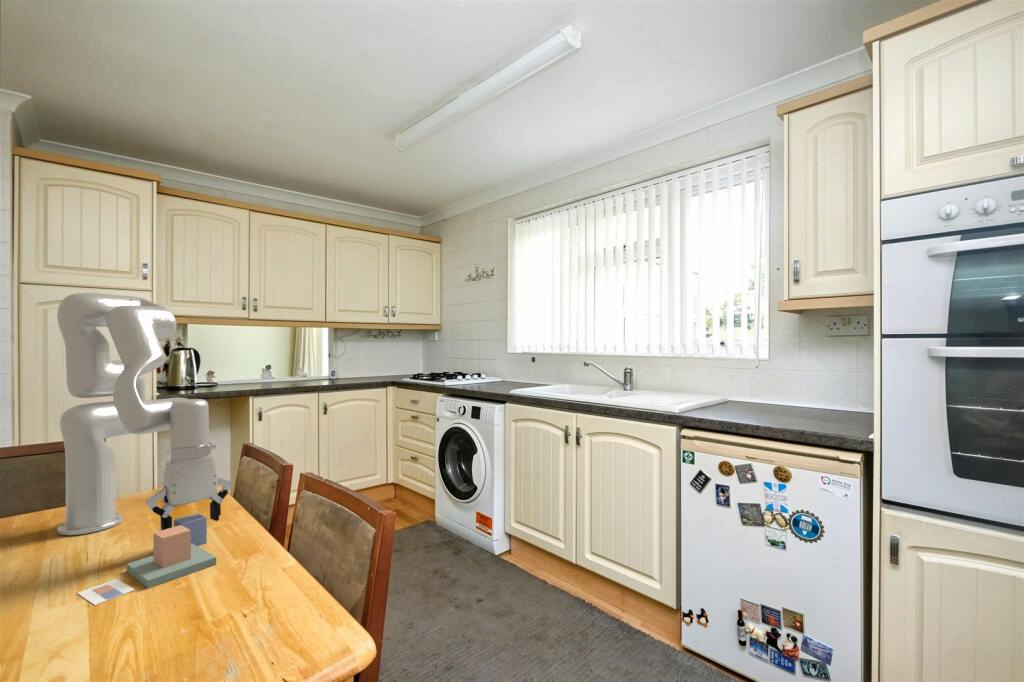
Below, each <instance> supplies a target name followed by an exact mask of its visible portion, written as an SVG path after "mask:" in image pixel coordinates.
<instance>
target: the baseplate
mask: <svg viewBox="0 0 1024 682" xmlns="http://www.w3.org/2000/svg"><path fill="white" fill-rule="evenodd" d="M215 565H217V556H215V555H213V554H212V553H210V552H209V551H207V550H205V549H203V548H202V547H200V546H196V545H195V544H193V543H192V544H191V559H189V560H186V561H183V562H180V563H177V564H174V565H171V566H168V567H165V568H162V567H161V566H159V565H158V564H156V563H155V562H153V555H150V556H147V557H143V558H141V559H137V560H135V561H130V562H128V563H126V572H127V573H128V574H130V575H131V576H132V577H133V578H135V579H136V580H137V581H138V582H140V583H141V584H142V585H143V586H145V587H146V588H147V589H150V588H153V587H155V586H159V585H161V584H164V583H168V582H171V581H173V580H175V579H179V578H182V577H184V576H186V575H187V576H188V575H190V574H192V573H196V572H198V571H201V570H203V569H207V568H209V567H212V566H215Z"/></svg>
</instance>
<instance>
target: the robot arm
mask: <svg viewBox="0 0 1024 682" xmlns="http://www.w3.org/2000/svg"><path fill="white" fill-rule="evenodd" d="M56 317H57V319H56V320H57V323H58V328H59V330H60V333H61V336H62V338H63V342H64V348H65V368H66V369H65V370H66V372H65V373H66V385H67V390H68V393H69V394H70V395H71V396H72V397H75V398H78V399H94V398H104V397H112V398H113V399H112V401H111V400H110V401H100V402H90V403H83V404H78V405H74V406H72V407H70V408H68V409H66V410H65V411H64V412H63V413H62V414H61V416H60V419H59V428H60V433H61V436H62V440H63V446H64V453H65V454H64V455H65V522H63V523H62V524H60V525H59V526H57V529H56V530H57V531H56V532H57V534H58V535H61V536H77V535H78V536H79V535H87V534H92V533H95V532H100V531H103V530H106V529H110V528H113V527H115V526H117V525H119V524H120V523H122V522H123V519H124V517H123V514H122V513H118V512H116V458H115V457H116V456H115V453H114V451H113V449H112V448H111V446H109V445H108V444H107V442H106V441H105V439H109V438H113V437H119V436H125V435H126V436H127V435H130V434H134V435H146V434H147V435H148V434H153V433H156V432H164V431H169V440H170V441H169V443H170V447H169V448H170V460H167V461H166V463H165V466H164V471H163V472H164V473H163V480H162V489H161V490H159V491H158V492H156V493H154V494H153V495H151V496H150V497H149V498H147V499H145V505H147V507H148V508H149V509H150V511H151V512H153V513H154V514H156V515H158V516H160V531H161V530H165V529H169V528H172V527H173V517H172V516H171V513H172V512H173V510H175V508H176V507H179V506H183V505H187V504H193V503H197V502H199V501H204V500H207V499H210V500H211V502H210V503H209V515H210V516H209V518H210V520H212V521H215V522H217V521H218V522H219V520H220V516H221V509H222V508H221V503H223V502H224V498H225V497H226V496H227V495H228V493H229V490H230V489H231V486H232V484H233V482H232V481H231V480H227V479H222V478H219V477H217V476H218V475H217V468H216V464H215V459H214V457H213V455H212V454H211V452H212V451H213V450H216V448H217V446H216V445H217V444H215V443H211V442H210V416H209V415H210V414H209V413H210V410H209V409H210V407H209V403H208V401H207V400H206V399H201V398H191V399H189V398H187V397H170V398H169V397H168V398H158V399H150V400H149V399H148V400H146V388H145V387H146V385H145V384H146V383H145V374H146V375H147V374H148V373H150V372H152V371H155V370H156V369H158V368H159V367H161V366H162V365H164V364H165V361H166V359H167V355H166V353H165V351H164V349H163V346H162V344H161V342H160V340H165V339H169V338H171V337H173V336H174V335H175V333H176V331H177V328H178V327H177V326H178V324H177V321H176V318H175V316H174V313H173V312H172V311H171V310H170V309H168V308H166V307H165V306H163V305H161V304H158V303H156V302H153V301H150V300H148V299H145V298H143V297H138V296H132V295H131V296H130V295H121V294H119V295H118V294H109V293H108V294H107V293H99V292H98V293H97V292H78V293H77V292H76V293H72V294H69V295H67V296H66V297H64V298H62V300H61V301H60V303H59V305H58V308H57V314H56ZM99 327H101V328H107V329H108V331H109V334H110V337H111V339H112V341H113V343H114V346H115V349H116V351H117V354H118V356H119V360H112V359H111V356H110V355H111V354H110V351H111V349H110V343H109V342H108V341H109V340H108V339H107V338H106V337H105V335H104V334H103V333H102V332H101V331H100V330H99V329H98V328H99ZM218 485H222V488H221V489H220V491H218ZM160 500H162V503H164V504H163V506H162V507H160V506H158V504H157V502H158V501H160Z"/></svg>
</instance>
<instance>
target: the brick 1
mask: <svg viewBox="0 0 1024 682" xmlns="http://www.w3.org/2000/svg"><path fill="white" fill-rule="evenodd" d="M152 534H153V536H152V539H153V540H152V542H153V543H152V544H153V545H152V546H153V553H152V554H153V555H152V556H153V562H155V563H156V564H158V565H159V566H161V567H162V568H165V567H168V566H171V565H174V564H177V563H180V562H183V561H186V560H189V559H191V530H189V529H188V528H186V527H184V526H182V525H179V526H176V527H173V526H172V528H169V529H165V530H161V529H160V530H158V531H155V532H153V533H152Z"/></svg>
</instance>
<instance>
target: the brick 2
mask: <svg viewBox="0 0 1024 682" xmlns="http://www.w3.org/2000/svg"><path fill="white" fill-rule="evenodd" d="M207 520H208V519H207V517H206V516H204V515H201V514H200V513H193V514H189V515H185V516H182V517H179V518H175V519H172V527H176V526H179V525H182V526H184V527H186V528H188V529H189V530H191V544H192V543H193V544H195V545H196V546H198V547H200V546H202V545H205V544H207V543H208V536H207V535H208V534H207V531H208V530H207V529H208V524H207Z"/></svg>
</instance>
